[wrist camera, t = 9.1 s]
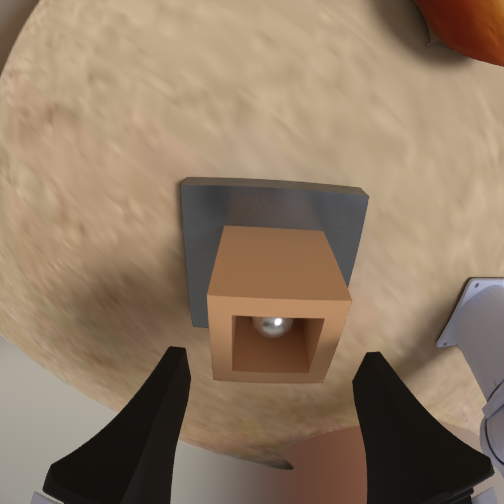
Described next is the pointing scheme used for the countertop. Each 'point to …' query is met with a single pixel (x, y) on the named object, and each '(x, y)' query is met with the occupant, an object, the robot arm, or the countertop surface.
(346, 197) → the post base
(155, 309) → the countertop surface
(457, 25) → the fruit
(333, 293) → the collar
